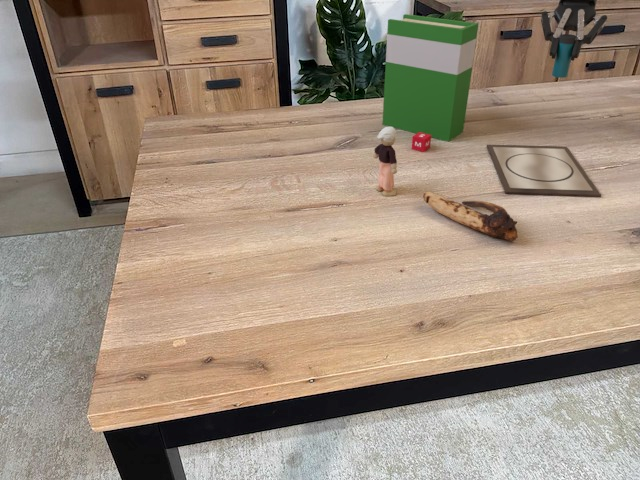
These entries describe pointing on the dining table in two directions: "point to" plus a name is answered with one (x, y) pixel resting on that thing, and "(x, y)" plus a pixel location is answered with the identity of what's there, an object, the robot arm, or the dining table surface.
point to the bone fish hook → (475, 216)
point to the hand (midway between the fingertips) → (563, 57)
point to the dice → (421, 142)
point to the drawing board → (540, 171)
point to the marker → (563, 55)
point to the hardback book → (428, 75)
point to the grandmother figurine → (386, 161)
